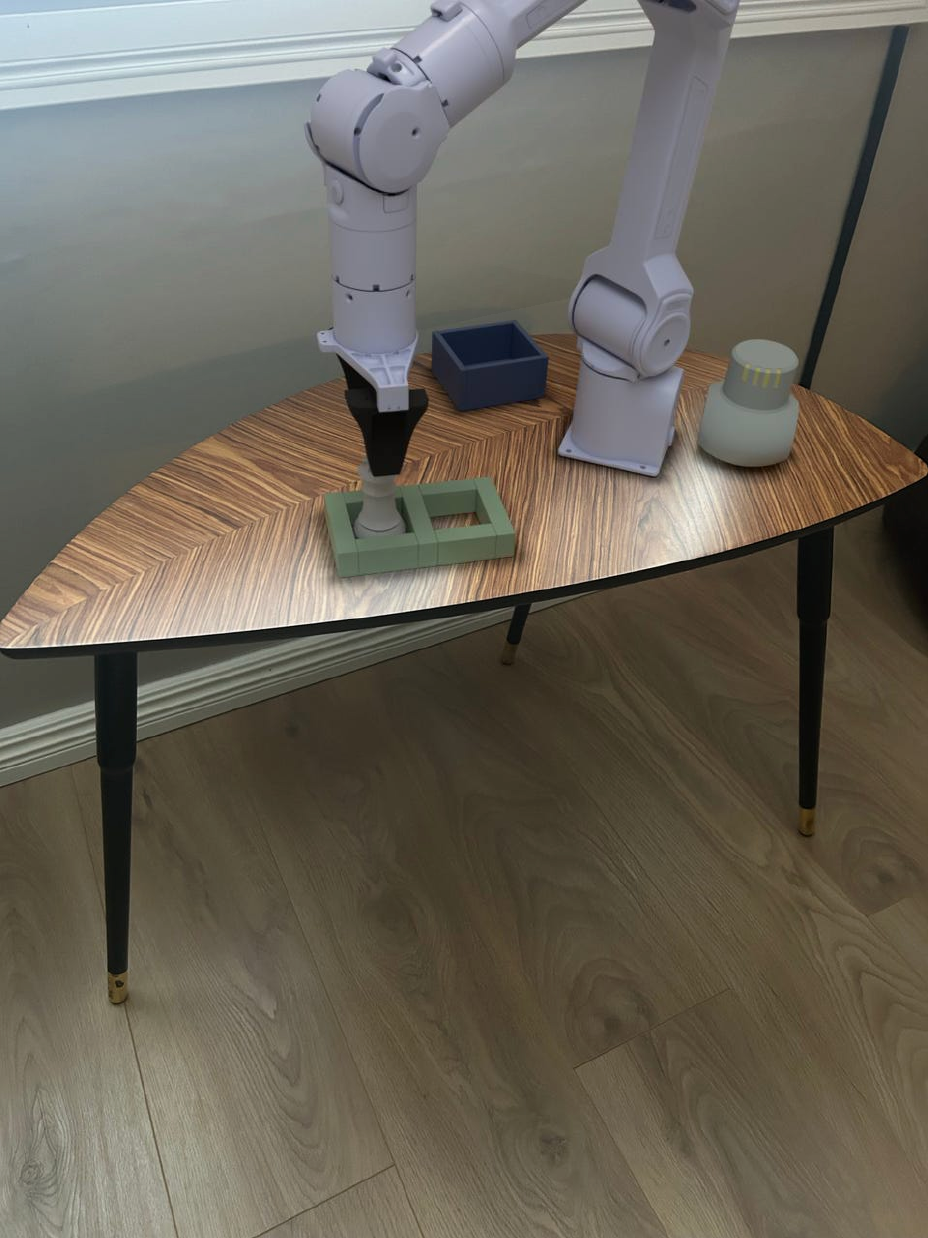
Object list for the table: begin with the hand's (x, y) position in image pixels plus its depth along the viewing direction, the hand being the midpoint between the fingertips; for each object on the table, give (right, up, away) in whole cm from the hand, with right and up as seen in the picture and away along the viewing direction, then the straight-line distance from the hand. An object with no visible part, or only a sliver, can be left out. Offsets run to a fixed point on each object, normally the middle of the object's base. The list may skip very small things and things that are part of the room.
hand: (377, 444), depth 77 cm
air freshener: (+33, +3, +19) cm, 38 cm away
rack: (+3, -7, +7) cm, 10 cm away
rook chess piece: (0, -7, +7) cm, 10 cm away
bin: (+9, +11, +26) cm, 29 cm away
